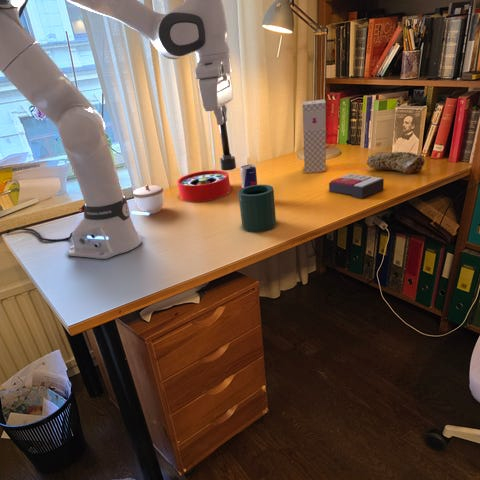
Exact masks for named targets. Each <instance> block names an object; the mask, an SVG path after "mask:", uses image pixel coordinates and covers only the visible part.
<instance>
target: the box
mask: <svg viewBox="0 0 480 480" xmlns="http://www.w3.org/2000/svg"><path fill="white" fill-rule="evenodd" d="M326 111H327V103H326V99H316V100H307V101H302V123H303V124H302V128H303V129H302V131H303V134H302V135H303V160H304V161H303V163H304V164H303V165H304V174H310V173H322V172H326V171H327V130H326V129H327V125H326V124H327V114H326V113H327V112H326Z"/></svg>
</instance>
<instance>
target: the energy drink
mask: <svg viewBox="0 0 480 480" xmlns="http://www.w3.org/2000/svg"><path fill="white" fill-rule="evenodd" d="M240 178H241V189H242V188H244V187H247V186H252V185H258V175H257V168H256V165H255V164H244V165H242V166H240Z"/></svg>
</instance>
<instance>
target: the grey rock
mask: <svg viewBox="0 0 480 480" xmlns="http://www.w3.org/2000/svg"><path fill="white" fill-rule="evenodd" d="M425 161H426V160H425V158H424V157H423V156H421V155H419V154H416V153H414V152H408V151H377V152H374V153H372V154H371V155H369V156H367V159H366V163H365V164H366V165H367V166H369V168H371V169H374V170H380V171H398V172H401V173H404V174H412V173H419V172H420V171H422V169H423V167H424V165H425Z"/></svg>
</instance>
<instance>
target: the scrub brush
mask: <svg viewBox="0 0 480 480" xmlns="http://www.w3.org/2000/svg"><path fill="white" fill-rule="evenodd" d="M222 114H223V117H224V124H223V125H218V126H219V132H220V139H221V140H220V141H221V147H222V157H221V158H219V165H220V169H221V170H220V171H225V172H227V171H232V170H235V169H236V168H237V163H236V156H233V155H232V153H231V151H230V142H229V134H228V127H227V126H228V125H227V121H226V119H225V113H224V111H223V110H222Z"/></svg>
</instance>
